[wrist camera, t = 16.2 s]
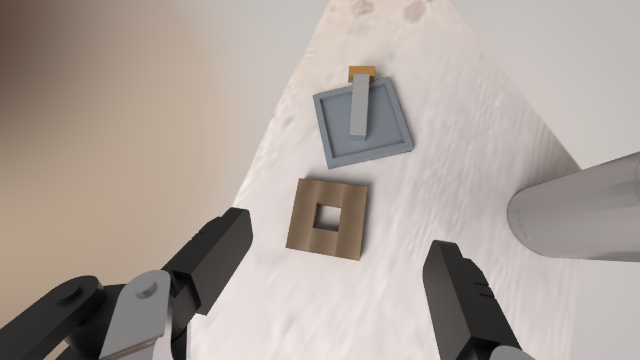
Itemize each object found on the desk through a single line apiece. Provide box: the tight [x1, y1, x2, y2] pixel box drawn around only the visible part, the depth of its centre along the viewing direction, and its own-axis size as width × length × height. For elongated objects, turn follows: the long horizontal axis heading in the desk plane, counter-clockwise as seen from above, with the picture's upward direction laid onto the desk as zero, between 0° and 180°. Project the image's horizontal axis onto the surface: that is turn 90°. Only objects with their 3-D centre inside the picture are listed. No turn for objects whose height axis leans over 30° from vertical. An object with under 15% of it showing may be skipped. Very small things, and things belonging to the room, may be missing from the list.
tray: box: [313, 77, 414, 169], centre depth 36 cm, size 13×13×2 cm
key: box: [348, 66, 375, 141], centre depth 35 cm, size 4×2×12 cm
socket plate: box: [286, 178, 367, 261], centre depth 32 cm, size 10×10×2 cm
